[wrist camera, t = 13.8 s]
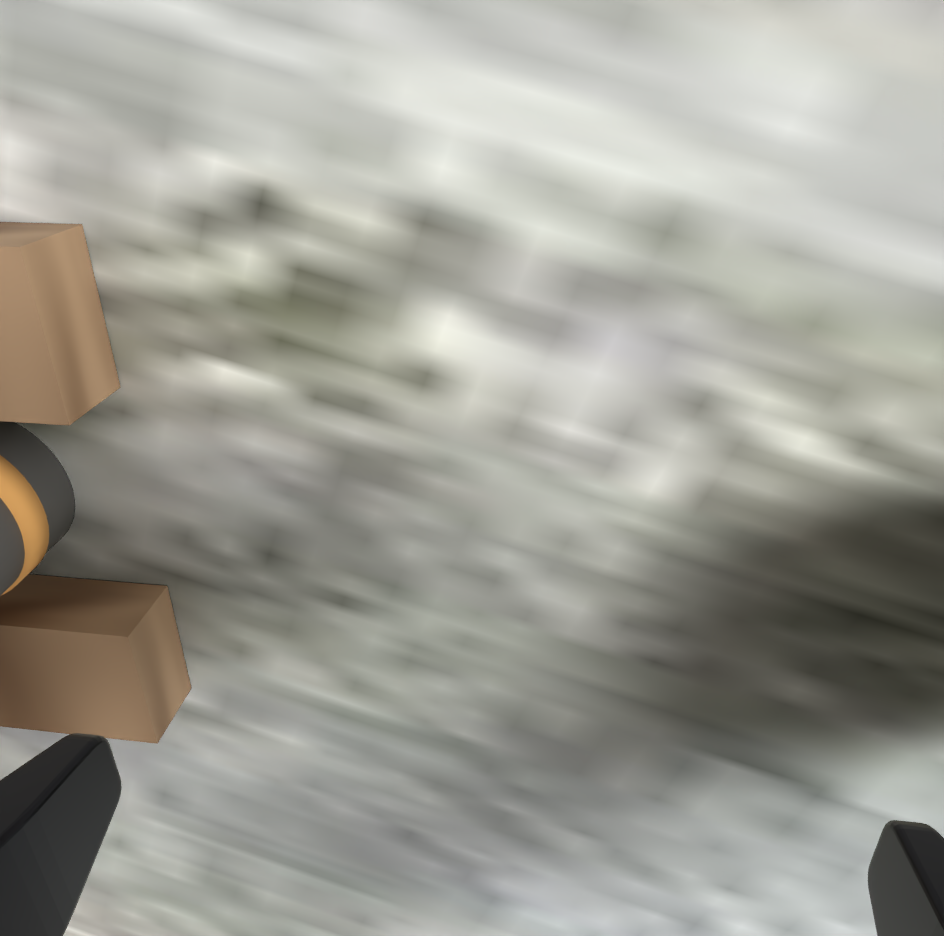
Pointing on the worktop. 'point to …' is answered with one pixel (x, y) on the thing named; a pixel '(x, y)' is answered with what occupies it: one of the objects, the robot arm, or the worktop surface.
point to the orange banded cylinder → (29, 503)
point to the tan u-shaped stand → (60, 598)
